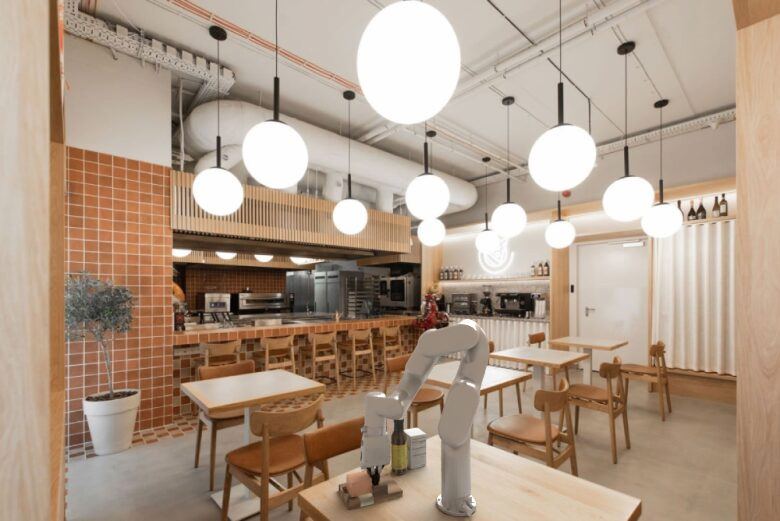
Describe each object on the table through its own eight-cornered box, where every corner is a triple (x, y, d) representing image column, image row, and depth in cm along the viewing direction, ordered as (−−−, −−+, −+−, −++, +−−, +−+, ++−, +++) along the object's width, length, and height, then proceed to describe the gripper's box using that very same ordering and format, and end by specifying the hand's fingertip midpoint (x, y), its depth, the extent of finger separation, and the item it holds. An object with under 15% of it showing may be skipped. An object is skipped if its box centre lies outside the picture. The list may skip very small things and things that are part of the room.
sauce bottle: (410, 472, 139) (410, 418, 141) (397, 477, 136) (397, 422, 137) (400, 465, 145) (401, 414, 146) (387, 469, 141) (388, 417, 143)
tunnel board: (402, 496, 123) (402, 481, 124) (348, 509, 116) (348, 493, 116) (388, 479, 134) (388, 465, 135) (338, 490, 127) (338, 475, 127)
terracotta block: (371, 492, 122) (371, 478, 122) (351, 497, 119) (351, 483, 120) (365, 483, 127) (365, 470, 128) (346, 488, 125) (346, 474, 125)
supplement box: (401, 461, 148) (401, 429, 149) (417, 458, 151) (417, 426, 152) (410, 470, 141) (410, 436, 142) (426, 466, 144) (426, 433, 145)
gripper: (358, 436, 121) (357, 494, 120) (399, 430, 127) (399, 485, 125) (351, 428, 128) (351, 483, 127) (390, 422, 134) (390, 474, 132)
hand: (375, 484), depth 126 cm, fingers closed
